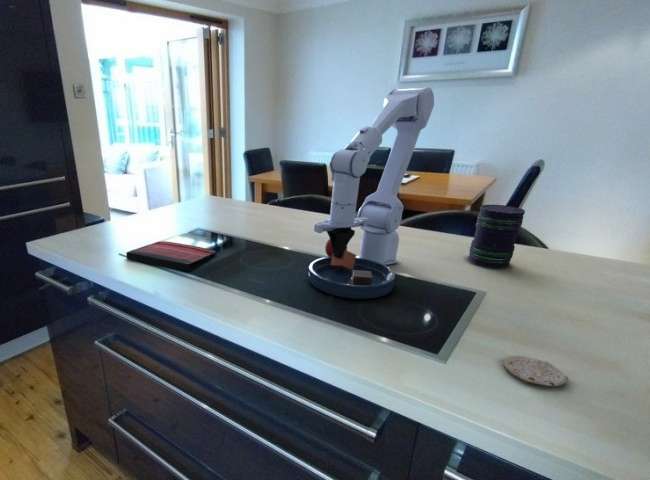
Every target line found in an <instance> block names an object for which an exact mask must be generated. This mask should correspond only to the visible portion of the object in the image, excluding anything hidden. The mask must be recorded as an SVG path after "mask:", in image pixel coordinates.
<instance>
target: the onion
mask: <svg viewBox="0 0 650 480" xmlns="http://www.w3.org/2000/svg"><path fill="white" fill-rule="evenodd" d="M324 248H325V254H326V255H327V257H331V256H332V255H333V248H332V243H331V240H330V238H329V239H328V240H327V241H326V243H325V247H324ZM345 250H347V251H348V245H347V246H346V248H345Z"/></svg>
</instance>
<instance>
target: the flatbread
mask: <svg viewBox="0 0 650 480" xmlns="http://www.w3.org/2000/svg"><path fill="white" fill-rule="evenodd" d="M502 363H503V366H504V367H505V369H506V370H507V371H508V372H509V373H511V374H512V375H514V376H515V377H517V378H518V379H520V380H522V381H524V382H527V383H530V384H535V385H540V386H546V387H558V386H562V385H564V384H566V383H567V382H568V380H569V377H568V375H565V373H564V372H562V371H561V370H560V369H559V368H557V367H556V366H555V365H553V364H552V363H550V362H549V361H546V360H541V359H538V358H535V357H530V356H524V355H509V356H505V357H504V358H503V359H502Z"/></svg>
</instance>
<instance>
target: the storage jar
mask: <svg viewBox="0 0 650 480" xmlns="http://www.w3.org/2000/svg"><path fill="white" fill-rule="evenodd" d="M525 213H526V210H525V209H523V208H520V207H516V206H511V205H503V204H502V205H501V204H482V205H480V208H479V213H478V215H477V219H476V223H475V228H476V229H475V232H474V236H473V239H472V240H471V242H470V246H469V250H468V251H469V252H468V256H467V261H468V263H471V264H472V265H475V266H477V267H482V268H485V269H492V270H493V269H495V270H503V269H504V270H505V269H508V268H509V267H510V262H511V260H512V258H513V256H514V253H515V243H516V240H517V236H518V234H519V233H520V231H521V227H522V225H523V222H524V215H525Z"/></svg>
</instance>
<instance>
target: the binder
mask: <svg viewBox="0 0 650 480" xmlns="http://www.w3.org/2000/svg"><path fill="white" fill-rule="evenodd" d="M216 254H217V252H216V250H214V249H210V248H207V247H202V246H198V245H192V244H185V243H179V242H173V241H166V240H165V241H163V240H161V241H157V242H153V243H151V244H146V245H144V246H140V247H138V248H135V249H132V250H129V251H127V252H126V255H125V256H126V259H127V260H130V261H134V262H138V263H143V264H149V265H153V266H159V267H162V268H168V269H174V270H179V271H184V272H188V273H189V272H191V271H193V270H194V269H195V268H197V267H198V266H200V265H201V264H203V263H204V262H206V261H207V260H209V259H211V258H212V257H214V256H215V255H216Z"/></svg>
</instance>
